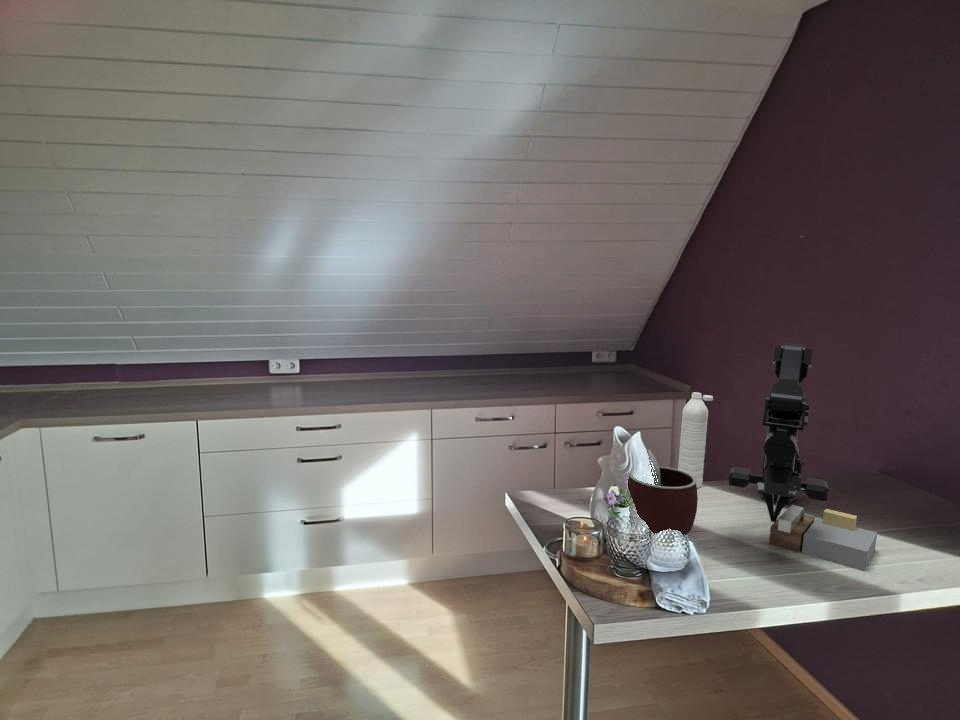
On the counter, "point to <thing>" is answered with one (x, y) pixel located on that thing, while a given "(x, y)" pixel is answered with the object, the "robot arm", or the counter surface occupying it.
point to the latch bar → (791, 518)
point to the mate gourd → (665, 499)
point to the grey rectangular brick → (840, 540)
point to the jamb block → (790, 534)
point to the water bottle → (694, 437)
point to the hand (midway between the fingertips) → (773, 521)
